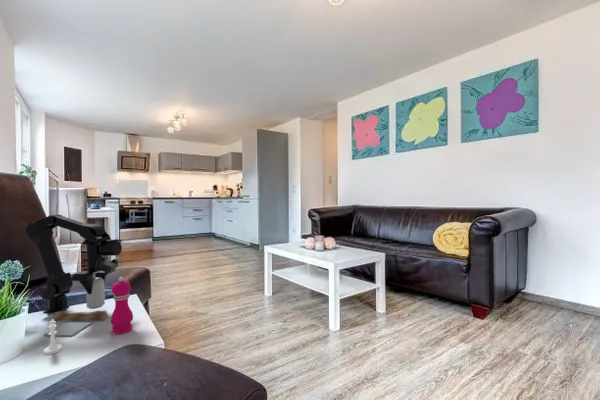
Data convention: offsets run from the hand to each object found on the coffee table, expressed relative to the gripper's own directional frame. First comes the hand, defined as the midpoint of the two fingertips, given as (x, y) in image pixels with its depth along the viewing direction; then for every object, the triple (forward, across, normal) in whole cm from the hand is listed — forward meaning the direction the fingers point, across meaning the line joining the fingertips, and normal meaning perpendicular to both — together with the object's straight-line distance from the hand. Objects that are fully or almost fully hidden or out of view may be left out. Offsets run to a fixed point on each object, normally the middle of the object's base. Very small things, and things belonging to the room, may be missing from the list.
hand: (95, 291), depth 129 cm
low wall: (+9, -8, 0) cm, 12 cm away
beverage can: (+7, 0, 0) cm, 7 cm away
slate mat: (+9, -17, -2) cm, 19 cm away
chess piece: (+9, -31, -8) cm, 33 cm away
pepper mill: (+9, -17, -22) cm, 29 cm away
